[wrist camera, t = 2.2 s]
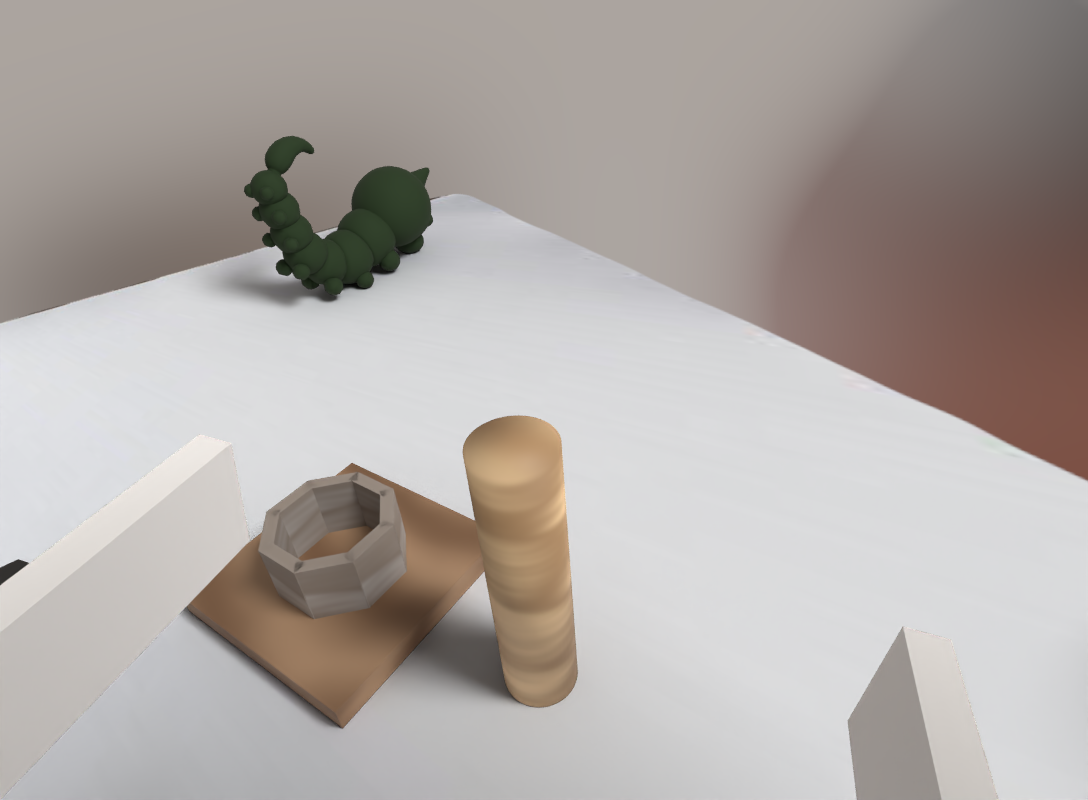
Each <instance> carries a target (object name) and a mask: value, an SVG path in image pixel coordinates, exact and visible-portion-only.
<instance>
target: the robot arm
mask: <svg viewBox="0 0 1088 800" xmlns="http://www.w3.org/2000/svg"><path fill="white" fill-rule="evenodd" d="M249 541H250V537H249V532H248V527H247V522H246V516H245V511H244V506H243V501H242V496H241V491H240V486H239V481H238V475H237V470H236V465H235V460H234V455H233V450H232V445H231V443H229V442H225V441H221V440H218V439H214V438H210V437H207V436H203V435H198V436H197V437H195V438H194V439H193V440H191V441H190V442H189V443H187V444H186V445H185V446H183V447H182V448H181V449H179V450H178V451H177V452H176V453H174V454H173V455H172V456H170V457H169V458H168V459H166V460H165V461H164V462H162V463H161V464H160V465H158V466H157V467H156V468H154V469H153V470H152V471H150V472H149V473H148V474H147V475H145V476H144V477H143V478H141V479H140V480H139V481H137V482H136V483H135V484H133V485H132V486H131V487H129V488H128V489H127V490H125V491H124V492H123V493H121V494H120V495H119V496H117V497H116V498H115V499H114V500H112V501H111V502H110V503H108V504H107V505H106V506H104V507H103V508H102V509H100V510H99V511H98V512H96V513H95V514H94V515H92V516H91V517H90V518H88V519H87V520H86V521H84V522H83V523H82V524H81V525H79V526H78V527H77V528H75V529H74V530H73V531H71V532H70V533H69V534H67V535H66V536H65V537H63V538H62V539H61V540H59V541H58V542H57V543H55V544H54V545H53V546H52V547H50V548H49V549H48V550H46V551H45V552H44V553H42V554H41V555H40V556H38V557H37V558H36V559H34V560H33V561H32V562H30V563H27V562H24V561H21V560H16V561H14V562H11V563H9V564H7V565H5V566H3V567H1V568H0V800H1V799H2V798H3V797H4V796H5V795H6V794H7V792H8V791H9V790H10V789H11V788H12V787H13V786H14V785H15V784H16V783H17V782H18V781H19V780H20V779H21V778H22V777H23V776H24V775H25V774H26V773H27V772H28V771H29V770H30V769H31V768H32V767H33V765H34V764H35V763H36V762H37V761H38V760H39V759H40V758H41V757H42V756H43V755H44V754H45V753H46V752H47V751H48V750H49V749H50V748H51V747H52V746H53V745H54V744H55V743H56V742H57V741H58V739H59V738H60V737H61V736H62V735H63V734H64V733H65V732H66V731H67V730H68V729H69V728H70V727H71V726H72V725H73V724H74V723H75V722H76V721H77V720H78V719H79V718H80V717H81V716H82V715H83V714H84V712H85V711H86V710H87V709H88V708H89V707H90V706H91V705H92V704H93V703H94V702H95V701H96V700H97V699H98V698H99V697H100V696H101V695H102V694H103V693H104V692H105V691H106V690H107V689H108V688H109V686H110V685H111V684H112V683H113V682H114V681H115V680H116V679H117V678H118V677H119V676H120V675H121V674H122V673H123V672H124V671H125V670H126V669H127V668H128V667H129V666H130V665H131V664H132V663H133V662H134V661H135V659H136V658H137V657H138V656H139V655H140V654H141V653H142V652H143V651H144V650H145V649H146V648H147V647H148V646H149V645H150V644H151V643H152V642H153V641H154V640H155V639H156V638H157V637H158V636H159V635H160V633H161V632H162V631H163V630H164V629H165V628H166V627H167V626H168V625H169V624H170V623H171V622H172V621H173V620H174V619H175V618H176V617H177V616H178V615H179V614H180V613H181V612H182V611H183V610H184V609H185V608H186V606H187V605H188V604H189V603H190V602H191V601H192V600H193V599H194V598H195V597H196V596H197V595H198V594H199V593H200V592H201V591H202V590H203V589H204V588H205V587H206V586H207V585H208V584H209V583H210V582H211V580H212V579H213V578H214V577H215V576H216V575H217V574H218V573H219V572H220V571H221V570H222V569H223V568H224V567H225V566H226V565H227V564H228V563H229V562H230V561H231V560H232V559H233V558H234V557H235V556H236V555H237V553H238V552H239V551H240V550H241V549H242V548H243V547H244V546H245V545H246V544H247V543H248V542H249ZM848 728H849V736H850V745H851V753H852V762H853V770H854V779H855V788H856V796H857V800H999V799H998V796H997V793H996V789H995V786H994V783H993V779H992V776H991V772H990V769H989V766H988V762H987V759H986V756H985V752H984V749H983V745H982V742H981V739H980V735H979V732H978V729H977V725H976V722H975V718H974V715H973V712H972V708H971V705H970V702H969V698H968V695H967V691H966V688H965V685H964V681H963V678H962V675H961V671H960V668H959V664H958V661H957V658H956V654H955V651H954V647H953V644H952V641H951V639H947V638H943V637H940V636H936V635H932V634H929V633H925V632H921V631H918V630H914V629H910V628H907V627H902V629H901V631H900V632H899V634H898V636H897V637H896V639H895V641H894V643H893V644H892V646H891V648H890V649H889V651H888V653H887V654H886V656H885V658H884V660H883V661H882V663H881V665H880V666H879V668H878V670H877V672H876V673H875V675H874V677H873V678H872V680H871V682H870V684H869V685H868V687H867V689H866V690H865V692H864V694H863V696H862V697H861V699H860V701H859V702H858V704H857V706H856V707H855V709H854V711H853V713H852V714H851V716H850V718H849V719H848Z"/></svg>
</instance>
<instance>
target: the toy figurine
mask: <svg viewBox="0 0 1088 800" xmlns="http://www.w3.org/2000/svg"><path fill="white" fill-rule="evenodd" d="M301 152H306V153H309V154H313V153H314V148H313V147H312V145H311V144H310V143H308V142H307V141H305V140H304V139H302V138H299V137H295V136H288V137H283V138H281V139H279V140H277V141H275V142H274V143H273V144H272V145H271V146H270V147H269V149H268V151H267V152H266V155H265V163H266V166H267V168H268V170H264V171H260V172H258V173H257V174H255V176H254V177H253V178H252V180H251V183H250V184H248V185H246V186H245V188H244V192H245V194H246V196H248V197H251V198H255V199H256V201H258V202H259V206H258V207H255V208H254V209H253V210H252V216H253V217H254V218H255V219H256V220H257V221H264V222H265V223H266V224H267V225H268V226H270V227H271V228H270V233H266V234H265V235H264V236H263V238H262V241H263V243H264V245H266V246H268V247H274V246H275V245H276V246H277V247H278V248H279V249H280V250H281V251H283V252H282V253H283V257H284V260H283V259H282V260H280V261H278V262H277V263H276V270H277V271H278V273H279V274H281V275H285V276H288V275H290V274H291V273H292V272H293V275H294V276H295V278H297V279H301V282H302V284H303V285H304V286H305V287H306V288H308V289H314V288H316V287H318V286H319V284H323V285H324V287H325V291H326V292H328V293H329V294H330V295H337V294H340V293H341V291H342V290H343V283H344V284H352V283H356V282H357V284H358V286H360V287H362V288H368V287H370V286H371V285H372V284H373V282H374V278H373V275H372V273H371V272H370V271H371V269H372V266H376V265H380V266H381V267H382V268H383V269H384V270H387V271H391V270H394V269H396V268H397V267H398V266H399V264H400V257H399V254H397V253H396V252H395V251H394V247H396V248H397V249H398V250H399V251H402V252H405V253H413V252H416V251H419V250H420V249H421V248H422V246H423V243H424V239H423V236H422V235H421V234H422V233H423V232H424V231H425V229H426V228H427V227H428V226H430V225H431V224H432V222H433V218H432V215H431V203H430V198H429V195H428V193H427V190H426V189H425V187H424V186H425V183H426V180H427V177H428V174H429V169H428V168H422V169H419V170H417V171H414V172H411V173H410V172H409V171H407V170H404V169H402V168H398V167H393V166H387V167H380V168H376V169H374V170H372V171H370V172H369V173H367V174H366V175H365V176H364V177H363V178H362V179H361V180H360V181H359V183H358V184H357V186H356V188H355V190H354V193H353V196H352V211H351V212H349V213H348V214H346V215H345V216H344V217H343V219H342V220H341V221H340V223H339V225H338V229H337V231H335V232H332V233H330V234H329V235H327V237H326V238H325V239H321V238H320V237H319V236H318V235H317V234H315V233H313V230H312V227H311V224H310V223H309V222H308V221H307V219H306V218H304V217H303V216H302V215H300V209H299V204H298V202H297V201H296V199H295V198H294V197H293V196H292V195H291V194H289V193H288V189H287V184H286V182H285V180H284V179H283V178H282V177H281V174H284V173H285V172H286V171H287V170H288V169H289V168H290V166H291V165H292V163H293V161H294V159H295V157H296V156H297V155H298V154H299V153H301Z"/></svg>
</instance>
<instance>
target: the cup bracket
mask: <svg viewBox="0 0 1088 800" xmlns="http://www.w3.org/2000/svg"><path fill="white" fill-rule="evenodd" d="M483 572H484V566H483V560H482V555H481V549H480V544H479V539H478V533H477V528H476V522H475V521H474V520H472V519H470V518H468V517H466V516H464V515H461V514H459V513H457V512H455V511H453V510H451V509H449V508H447V507H444V506H442V505H440V504H438V503H436V502H434V501H432V500H430V499H427V498H425V497H423V496H421V495H419V494H417V493H415V492H413V491H410V490H408V489H406V488H404V487H402V486H400V485H398V484H396V483H394V482H391V481H389V480H387V479H385V478H383V477H381V476H379V475H377V474H374V473H372V472H370V471H368V470H366V469H364V468H362V467H360V466H357V465H355V464H353V463H351V464H350V465H349V466H347V467H346V468H345V469H344V470H342V471H341V472H340V473H338V474H337V475H336V476H332V477H327V478H321V479H316V480H310V481H307V482H306V483H304V484H303V485H302V486H300V487H299V488H298V489H296V490H295V491H294V492H292V493H291V494H290V495H288V496H287V497H286V498H284V499H283V500H282V501H280V502H279V503H278V504H276V505H275V506H274V507H272V508H271V509H270V510H268V511H267V512H266V516H265V521H264V526H263V531H262V533H261V534H259V535H258V536H257V537H256V538H254V539H253V540H252V541H250V542H249V543H248V544H246V545H245V546H244V547H243V548H242V549H241V550H240V551H239V552H238V553H237V555H236V556H235V557H234V558H233V559H232V560H231V561H230V562H229V563H228V564H227V565H226V566H225V567H224V568H223V569H222V570H221V571H220V572H219V573H218V574H217V575H216V576H215V577H214V578H213V579H212V580H211V582H210V583H209V584H208V585H207V586H206V587H205V588H204V589H203V590H202V591H201V592H200V593H199V594H198V595H197V596H196V597H195V598H194V599H193V600H192V601H191V602H190V603H189V604H188V605H187V608H188V610H189V611H190V612H191V613H193V614H194V615H195V616H196V617H198V618H199V619H200V620H202V621H203V622H204V623H206V624H207V625H208V626H210V627H211V628H212V629H213V630H215V631H216V632H217V633H219V634H220V635H221V636H223V637H224V638H225V639H227V640H228V641H229V642H230V643H232V644H233V645H234V646H236V647H237V648H238V649H240V650H241V651H242V652H243V653H245V654H246V655H247V656H249V657H250V658H251V659H253V660H254V661H255V662H257V663H258V664H259V665H260V666H262V667H263V668H264V669H266V670H267V671H268V672H270V673H271V674H272V675H274V676H275V677H276V678H277V679H279V680H280V681H281V682H283V683H284V684H285V685H287V686H288V687H289V688H291V689H292V690H293V691H294V692H296V693H297V694H298V695H300V696H301V697H302V698H304V699H305V700H306V701H308V702H309V703H310V704H311V705H313V706H314V707H315V708H317V709H318V710H319V711H321V712H322V713H323V714H325V715H326V716H327V717H328V718H330V719H331V720H332V721H334V722H335V723H336V724H338V725H339V726H340V727H342V728H343V727H344V726H345V725H346V724H347V723H348V722H349V721H350V720H351V719H352V717H353V716H354V715H355V714H356V713H357V712H358V711H359V710H360V709H361V707H362V706H363V705H364V704H365V703H366V702H367V701H368V700H369V699H370V697H371V696H372V695H373V694H374V693H375V692H376V691H377V690H378V689H379V687H380V686H381V685H382V684H383V683H384V682H385V681H386V680H387V679H388V677H389V676H390V675H391V674H392V673H393V672H394V671H395V670H396V669H397V667H398V666H399V665H400V664H401V663H402V662H403V661H404V660H405V659H406V657H407V656H408V655H409V654H410V653H411V652H412V651H413V650H414V649H415V648H416V646H417V645H418V644H419V643H420V642H421V641H422V640H423V639H424V638H425V636H426V635H427V634H428V633H429V632H430V631H431V630H432V629H433V628H434V626H435V625H436V624H437V623H438V622H439V621H440V620H441V619H442V618H443V616H444V615H445V614H446V613H447V612H448V611H449V610H450V609H451V608H452V606H453V605H454V604H455V603H456V602H457V601H458V600H459V599H460V598H461V596H462V595H463V594H464V593H465V592H466V591H467V590H468V589H469V588H470V586H471V585H472V584H473V583H474V582H475V581H476V580H477V579H478V578H479V576H480V575H481V574H482V573H483Z"/></svg>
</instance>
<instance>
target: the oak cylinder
mask: <svg viewBox="0 0 1088 800" xmlns="http://www.w3.org/2000/svg"><path fill="white" fill-rule="evenodd" d="M463 458H464V463H465V468H466V474H467V479H468V485H469V490H470V495H471V501H472V506H473V512H474V517H475V522H476V528H477V533H478V539H479V544H480V549H481V555H482V560H483V566H484V571H485V576H486V582H487V587H488V592H489V598H490V603H491V609H492V614H493V619H494V625H495V630H496V636H497V641H498V646H499V652H500V657H501V663H502V668H503V673H504V679H505V683H506V686H507V689H508V690H509V692H510V694H511V695H512V696H513V697H514V698H515V699H516V700H518V701H519V702H521V703H523V704H525V705H528V706H532V707H547V706H551V705H554V704H556V703H558V702H560V701H562V700H563V699H564V698H566V697H567V696H568V695H569V693H570V692H571V691H572V689H573V688H574V686H575V683H576V680H577V674H578V670H577V655H576V641H575V627H574V613H573V599H572V585H571V571H570V557H569V543H568V529H567V515H566V501H565V487H564V473H563V459H562V445H561V438H560V435H559V433H558V432H557V430H556V429H555V428H554V427H553V426H552V425H550V424H549V423H547V422H545V421H543V420H541V419H538V418H534V417H529V416H507V417H502V418H497V419H494V420H491V421H489V422H487V423H485V424H483V425H481V426H479V427H478V428H476V429H475V430H474V431H473V432H472V433H471V434H470V435H469V436H468V437H467V439H466V441H465V443H464V446H463Z"/></svg>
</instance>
